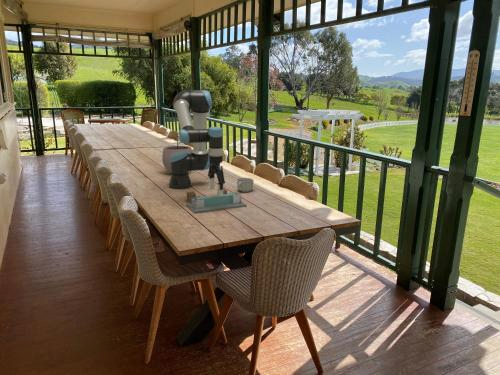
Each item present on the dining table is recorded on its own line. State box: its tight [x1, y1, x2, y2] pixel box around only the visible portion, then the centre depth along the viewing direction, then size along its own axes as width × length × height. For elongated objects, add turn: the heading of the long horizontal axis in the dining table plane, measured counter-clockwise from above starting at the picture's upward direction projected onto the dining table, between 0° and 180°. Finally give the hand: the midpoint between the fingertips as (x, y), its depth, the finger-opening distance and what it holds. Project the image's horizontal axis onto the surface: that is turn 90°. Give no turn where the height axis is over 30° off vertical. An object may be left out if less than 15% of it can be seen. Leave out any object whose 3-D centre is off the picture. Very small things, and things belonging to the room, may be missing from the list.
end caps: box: [190, 191, 242, 209], centre depth 222 cm, size 7×28×5 cm, turn 116°
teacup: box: [236, 177, 255, 193], centre depth 254 cm, size 14×11×8 cm
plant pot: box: [161, 135, 193, 174], centre depth 301 cm, size 24×24×30 cm
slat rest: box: [186, 187, 228, 204], centre depth 236 cm, size 6×24×5 cm, turn 116°
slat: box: [195, 192, 237, 207], centre depth 222 cm, size 3×24×5 cm, turn 116°
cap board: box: [186, 201, 247, 214], centre depth 223 cm, size 15×31×1 cm, turn 116°
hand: (216, 192), depth 221 cm, fingers open, 13 cm apart
